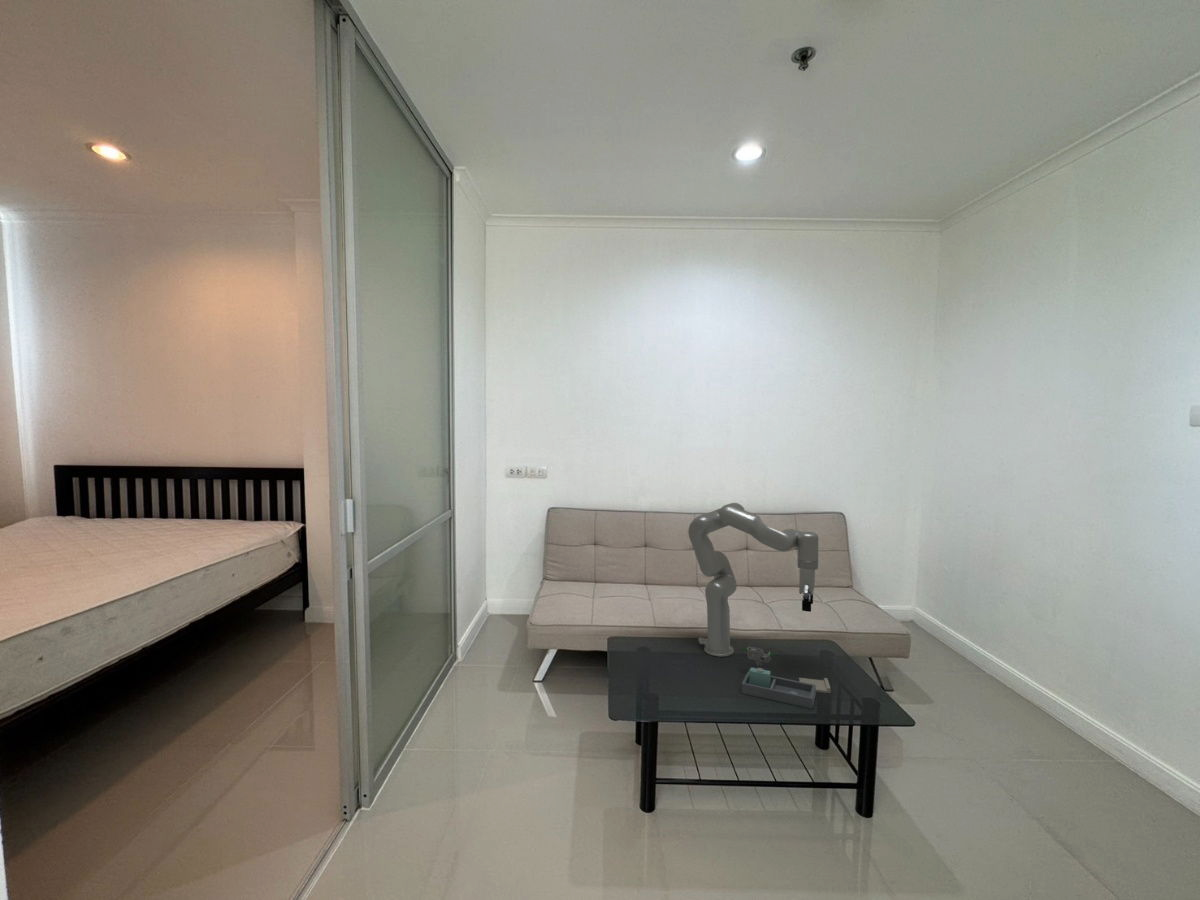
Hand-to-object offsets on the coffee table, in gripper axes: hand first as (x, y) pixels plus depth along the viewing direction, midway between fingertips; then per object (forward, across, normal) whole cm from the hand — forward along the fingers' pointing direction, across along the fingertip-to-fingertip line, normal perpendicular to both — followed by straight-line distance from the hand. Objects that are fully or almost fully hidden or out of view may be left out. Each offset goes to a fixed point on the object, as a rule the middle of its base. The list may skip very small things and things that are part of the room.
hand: (807, 607), depth 198 cm
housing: (+26, +21, -8) cm, 35 cm away
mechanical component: (+27, +10, -17) cm, 33 cm away
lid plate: (+26, +10, +3) cm, 28 cm away
